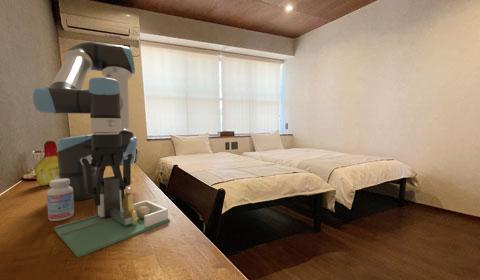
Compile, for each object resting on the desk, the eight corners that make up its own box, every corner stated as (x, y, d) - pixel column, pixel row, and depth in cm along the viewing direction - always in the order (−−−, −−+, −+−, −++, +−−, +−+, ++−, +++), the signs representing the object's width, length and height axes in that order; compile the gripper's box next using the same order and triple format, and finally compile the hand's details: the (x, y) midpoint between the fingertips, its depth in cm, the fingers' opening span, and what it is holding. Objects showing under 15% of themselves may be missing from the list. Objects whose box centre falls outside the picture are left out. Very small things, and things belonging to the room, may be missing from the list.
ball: (146, 203, 66) (145, 216, 66) (134, 205, 64) (133, 217, 63) (153, 206, 64) (151, 219, 64) (141, 208, 61) (139, 221, 61)
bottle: (37, 188, 96) (33, 142, 95) (35, 185, 100) (32, 141, 99) (71, 182, 105) (68, 140, 104) (68, 180, 109) (65, 139, 108)
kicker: (100, 215, 65) (98, 178, 64) (116, 211, 68) (114, 175, 68) (120, 229, 57) (118, 187, 56) (137, 223, 60) (136, 183, 59)
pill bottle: (45, 223, 62) (42, 184, 61) (51, 215, 67) (49, 179, 66) (72, 219, 65) (70, 181, 64) (76, 211, 70) (74, 176, 69)
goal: (125, 217, 66) (125, 206, 65) (147, 210, 71) (146, 200, 71) (146, 229, 58) (145, 216, 58) (168, 220, 64) (167, 208, 63)
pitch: (54, 230, 58) (54, 226, 58) (137, 206, 75) (137, 203, 75) (77, 257, 46) (77, 252, 46) (169, 221, 63) (169, 217, 63)
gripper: (75, 135, 55) (80, 227, 56) (142, 132, 68) (144, 207, 70) (66, 134, 59) (70, 219, 61) (130, 132, 73) (133, 202, 74)
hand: (110, 212), depth 65 cm, fingers closed on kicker, 4 cm apart
